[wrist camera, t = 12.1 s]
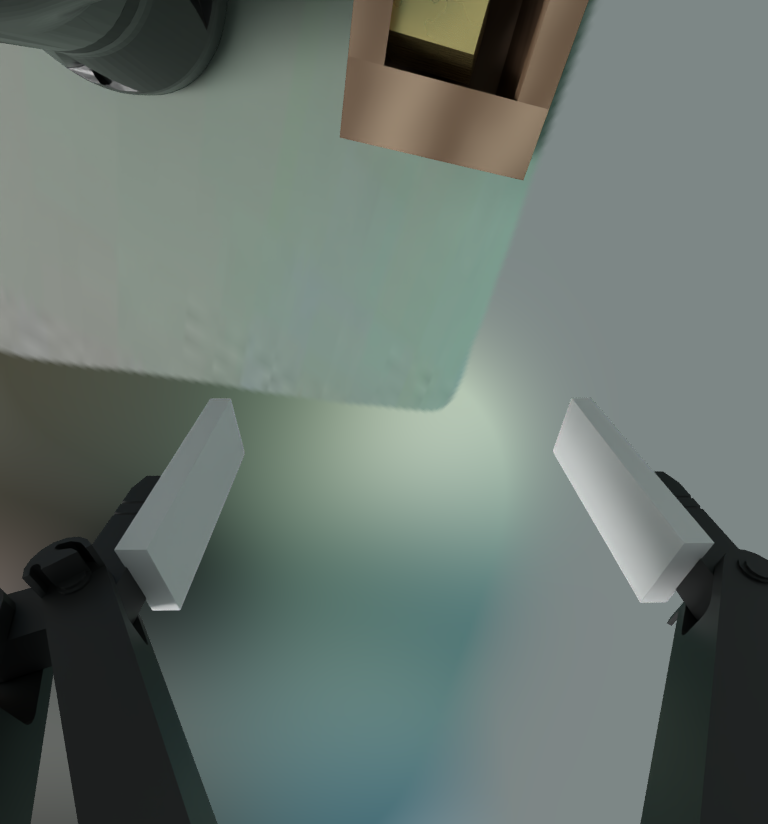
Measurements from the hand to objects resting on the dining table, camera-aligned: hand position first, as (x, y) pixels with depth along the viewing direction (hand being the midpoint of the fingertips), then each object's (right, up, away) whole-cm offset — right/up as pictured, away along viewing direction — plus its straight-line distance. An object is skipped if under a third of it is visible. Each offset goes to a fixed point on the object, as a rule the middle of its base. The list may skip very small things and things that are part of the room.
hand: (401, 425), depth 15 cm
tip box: (+3, +28, +14) cm, 31 cm away
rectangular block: (+3, +27, +13) cm, 30 cm away
